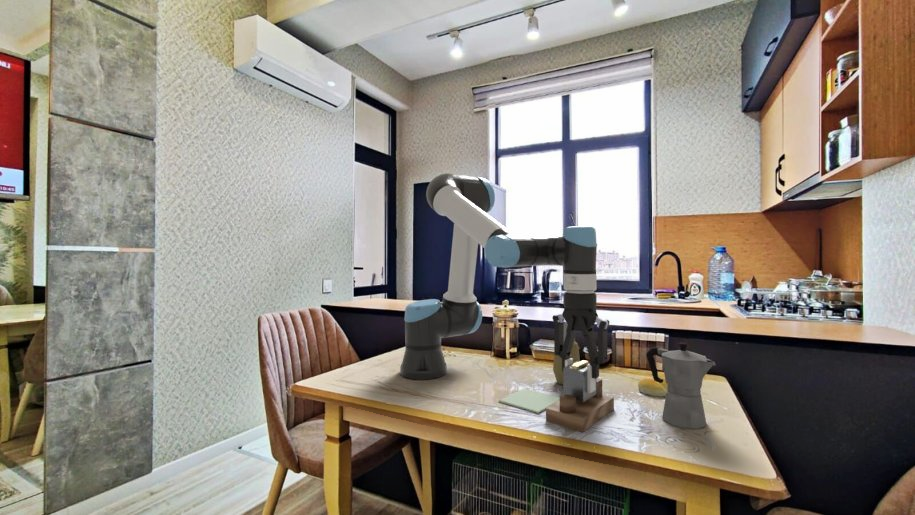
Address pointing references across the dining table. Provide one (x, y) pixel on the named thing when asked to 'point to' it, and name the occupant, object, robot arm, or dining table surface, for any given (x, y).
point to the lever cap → (576, 381)
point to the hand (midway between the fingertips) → (580, 388)
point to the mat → (530, 400)
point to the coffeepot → (682, 385)
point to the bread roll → (653, 387)
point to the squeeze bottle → (558, 360)
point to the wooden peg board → (580, 410)
